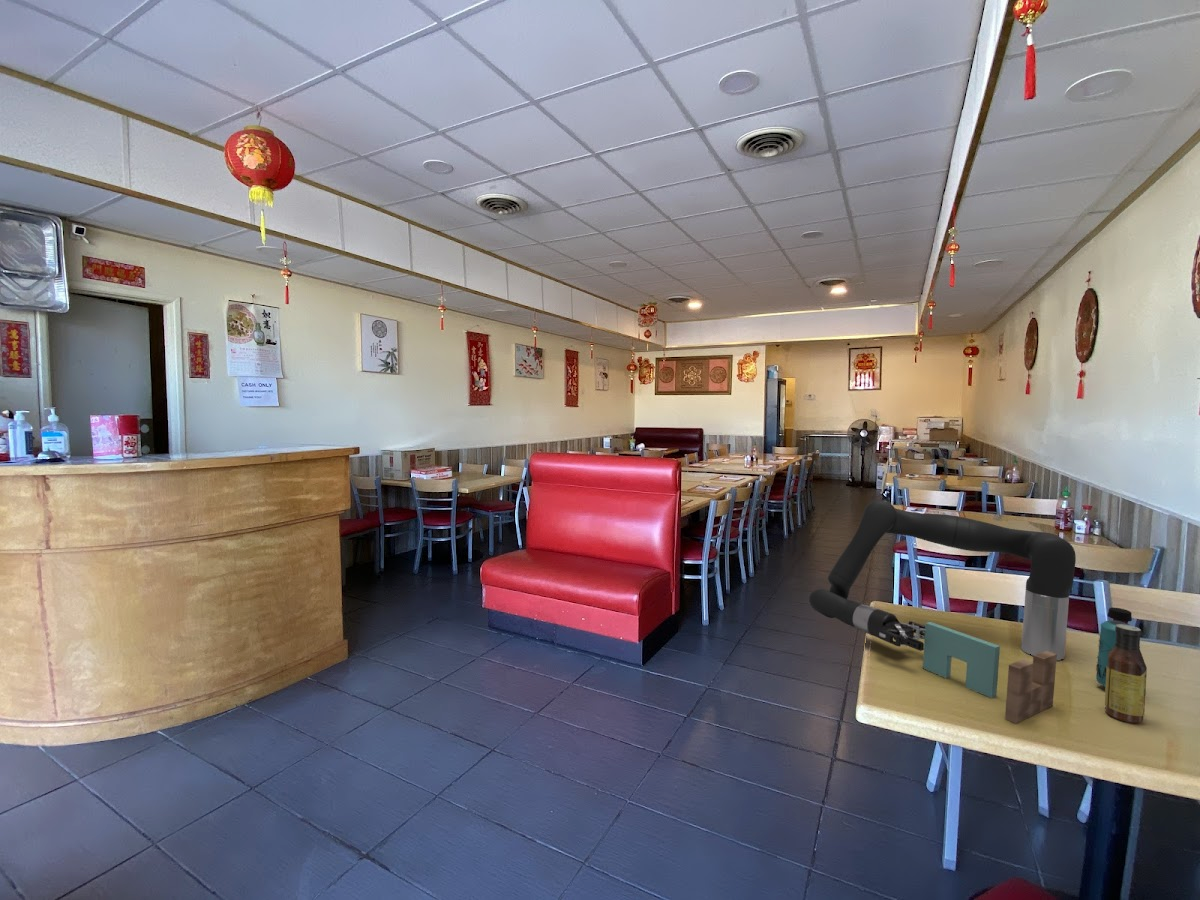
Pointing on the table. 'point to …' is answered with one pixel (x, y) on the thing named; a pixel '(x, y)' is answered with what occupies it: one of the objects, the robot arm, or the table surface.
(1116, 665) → the sauce bottle
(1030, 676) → the walnut slotted plate
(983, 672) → the teal slotted plate
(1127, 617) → the teal bottle
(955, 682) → the table surface
